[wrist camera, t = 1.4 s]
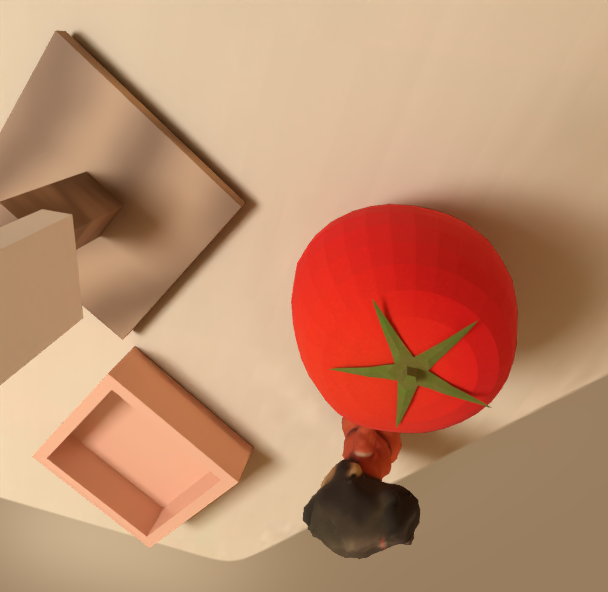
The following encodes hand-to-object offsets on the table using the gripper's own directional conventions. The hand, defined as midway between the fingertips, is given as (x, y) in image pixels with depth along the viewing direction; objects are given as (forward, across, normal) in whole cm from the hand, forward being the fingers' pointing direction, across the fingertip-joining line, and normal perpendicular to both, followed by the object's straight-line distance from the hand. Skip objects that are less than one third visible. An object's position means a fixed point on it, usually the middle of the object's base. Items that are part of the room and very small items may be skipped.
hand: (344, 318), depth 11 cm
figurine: (+22, +2, -20) cm, 30 cm away
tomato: (+22, +2, -7) cm, 24 cm away
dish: (+22, -16, -27) cm, 38 cm away
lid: (+22, -19, -6) cm, 30 cm away
